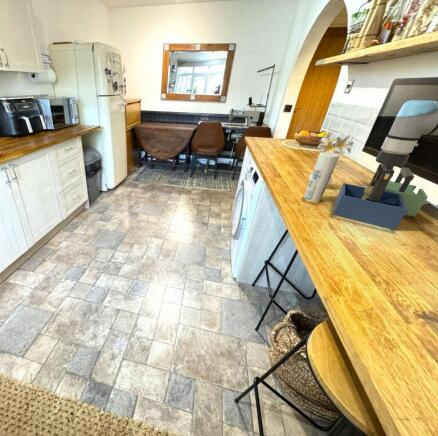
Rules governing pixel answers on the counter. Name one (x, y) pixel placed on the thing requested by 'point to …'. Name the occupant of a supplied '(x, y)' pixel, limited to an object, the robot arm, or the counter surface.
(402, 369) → the counter surface
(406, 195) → the sage bin
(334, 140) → the flower vase
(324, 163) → the spray can
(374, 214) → the slate bin
